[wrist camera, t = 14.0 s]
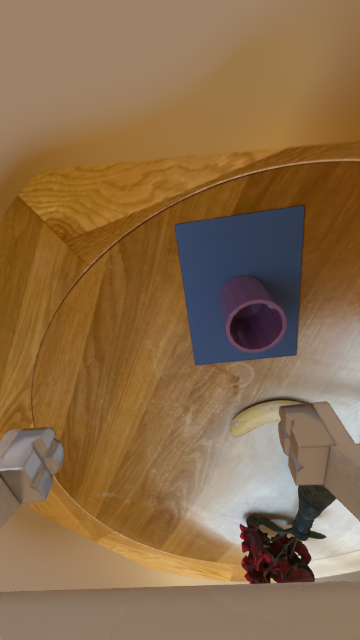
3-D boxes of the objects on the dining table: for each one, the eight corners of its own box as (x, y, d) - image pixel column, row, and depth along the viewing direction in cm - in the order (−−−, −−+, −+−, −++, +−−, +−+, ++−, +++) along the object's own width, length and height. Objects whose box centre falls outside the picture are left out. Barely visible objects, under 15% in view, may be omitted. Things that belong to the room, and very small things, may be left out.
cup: (216, 278, 37) (224, 303, 29) (265, 271, 36) (287, 296, 28) (220, 321, 40) (228, 355, 32) (266, 315, 39) (285, 349, 31)
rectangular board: (174, 224, 34) (174, 224, 34) (303, 205, 33) (304, 205, 32) (195, 363, 44) (195, 365, 44) (295, 353, 42) (296, 355, 42)
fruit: (227, 399, 47) (230, 413, 44) (316, 392, 46) (324, 407, 43) (229, 428, 50) (232, 443, 47) (312, 422, 49) (320, 438, 46)
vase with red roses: (292, 412, 58) (267, 513, 72) (237, 457, 47) (220, 566, 61) (375, 463, 47) (326, 571, 61) (328, 537, 36) (281, 648, 50)
